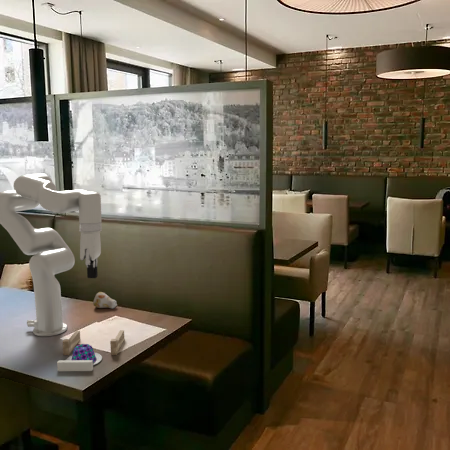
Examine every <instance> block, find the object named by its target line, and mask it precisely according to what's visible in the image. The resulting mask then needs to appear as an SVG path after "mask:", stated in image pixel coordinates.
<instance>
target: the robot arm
mask: <svg viewBox="0 0 450 450" xmlns="http://www.w3.org/2000/svg"><path fill="white" fill-rule="evenodd" d="M101 199H102V198H101V194H100V193H99V192H96V191H88V190H86V189H72V190H69V189H68V190H60V191H58V190H57V186H56V184H55V183H54V182H53V180H52V178H51V177H50V176H49V175H47V174H46V173H32V174H24V175H20V176H18V177H16V179H15V180H14V181H13V189H11V190H4V191H1V192H0V225H1V226H2V227H3V228H4V229H5V230H6V231H7V232H8V234H9V235H10V237H11V239H13V241H14V242H15V243H16V245H17V246H18V248H19V249H20V251H21V252H22V253H23V254H24V255H27V256H32V257H30V258H29V262H28V266H29V267H28V268H29V271H30V273H31V274H30V275H31V279H32V283H33V284H32V285H33V291H34V292H33V293H34V304H35V317H36V319H35V320H33V319H28V320H27V321H26V325H27V328H28V327H29V328H31V327H33V330H32V334H34V335H35V336H38V337H51V336H53V337H54V336H57V335H60V334H63V333H64V332H66V331H67V330H68V324H66V323H64V321H63V309H62V307H63V306H62V295H61V294H62V293H61V292H62V291H61V285H60V281H58V279H57V278H56V276H55V275H57V274H60V273H63V272H67V271H70V270H71V269H72V268H73V267H74V266H75V261H76V259H75V255H74V252H72V249H71V248H70V247H69V245H68V244H67V243H66V242H65V240H64V239H63V237H62V236H61V234H60V233H59V232H58V231H56V230H55V229H54V228H51V227H42V228H35V227H34V225H32V224H31V222H30V221H29V220H28V219H27V218H26V217H24V215H21V214H19V213H18V212H21V211H22V212H23V211H28V210H32V209H35V208H37V207H38V206H41V208H43V209H44V210H47V211H49V212H52V213H56V214H57V213H58V214H67V213H72V212H78V221H79V223H78V224H79V233H80V238H79V239H80V240H79V246H80V247H79V260H81V261H85V266H86V274H87V276H86V277H87V279H97V278H98V277H99V276H98V258H99V257H100V256H101V254H102V243H101V232H102V231H103V224H102V200H101Z"/></svg>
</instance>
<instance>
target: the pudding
mask: <svg viewBox="0 0 450 450" xmlns="http://www.w3.org/2000/svg"><path fill="white" fill-rule="evenodd" d="M102 359H103V356H102V355H101V354H100V353H98V352H95V351H94V349H93V346H92V345H90V344H88V343H86V344H85V343H82V344H77V345H76V346H75V347H74V349H73V350H72V355H69V357H67V358H65V360H93V366H95V365H97V364H99V363H100V362H101V361H102Z"/></svg>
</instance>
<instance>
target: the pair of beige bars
mask: <svg viewBox="0 0 450 450" xmlns="http://www.w3.org/2000/svg"><path fill="white" fill-rule="evenodd" d="M80 341H81V330H75V331H74V332H73V334H72V335H70V337H69V338H64V339H63V341H62V342H61V343H62V354H63V356H71V354H72V352H73V350H74V348H75V347H76V346H78V344H79V342H80ZM124 341H125V330H119V331H118V333H117V335H116V336H115V338H111V339H110V341H109V343H110V355H111V356H117V355H118V354H117V353H119V350H120V349H121V346H122V345H123V342H124Z"/></svg>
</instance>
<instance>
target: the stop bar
mask: <svg viewBox="0 0 450 450" xmlns="http://www.w3.org/2000/svg"><path fill="white" fill-rule="evenodd" d="M56 363H57V364H56V365H57V372H93V370H94V365H93V360H66V359H65V360H61V359H60V360H58V361H57V362H56Z"/></svg>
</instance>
